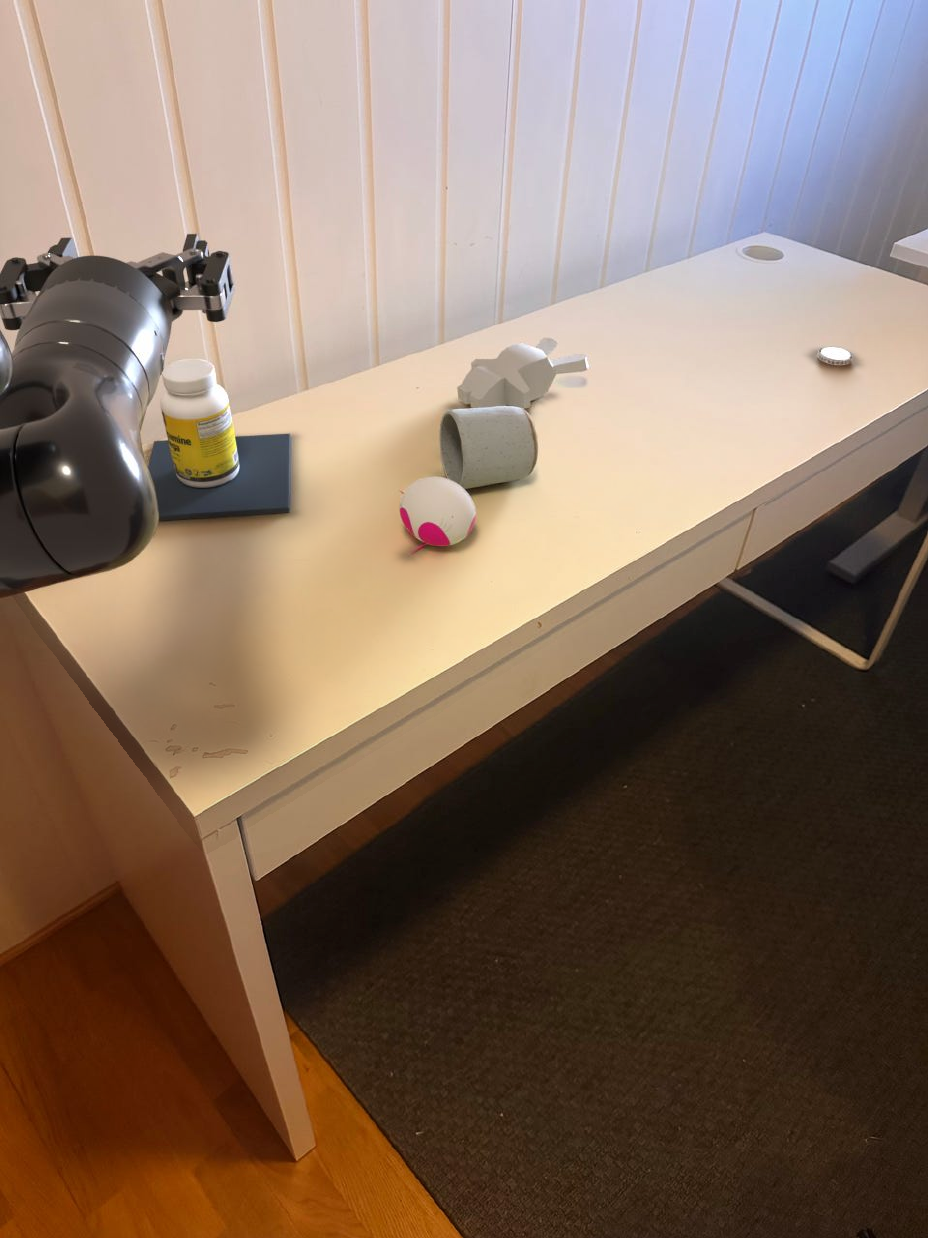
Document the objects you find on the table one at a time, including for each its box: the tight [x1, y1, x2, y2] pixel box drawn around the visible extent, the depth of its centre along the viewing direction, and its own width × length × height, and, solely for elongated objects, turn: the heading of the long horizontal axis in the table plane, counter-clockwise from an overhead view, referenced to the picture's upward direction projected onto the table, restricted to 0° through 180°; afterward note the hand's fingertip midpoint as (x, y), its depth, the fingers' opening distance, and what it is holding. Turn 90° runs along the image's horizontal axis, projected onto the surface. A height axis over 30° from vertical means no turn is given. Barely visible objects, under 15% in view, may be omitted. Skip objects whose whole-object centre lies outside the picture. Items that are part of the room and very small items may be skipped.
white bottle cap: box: [817, 346, 853, 366], centre depth 111 cm, size 4×4×1 cm
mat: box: [147, 433, 292, 522], centre depth 89 cm, size 14×14×1 cm
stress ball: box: [398, 475, 477, 555], centre depth 80 cm, size 8×8×7 cm
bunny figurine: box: [456, 337, 590, 410], centre depth 102 cm, size 10×5×15 cm
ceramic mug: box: [438, 405, 539, 490], centre depth 88 cm, size 11×8×8 cm
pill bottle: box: [159, 358, 239, 488], centre depth 85 cm, size 6×6×11 cm
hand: (133, 249), depth 64 cm, fingers open, 8 cm apart
